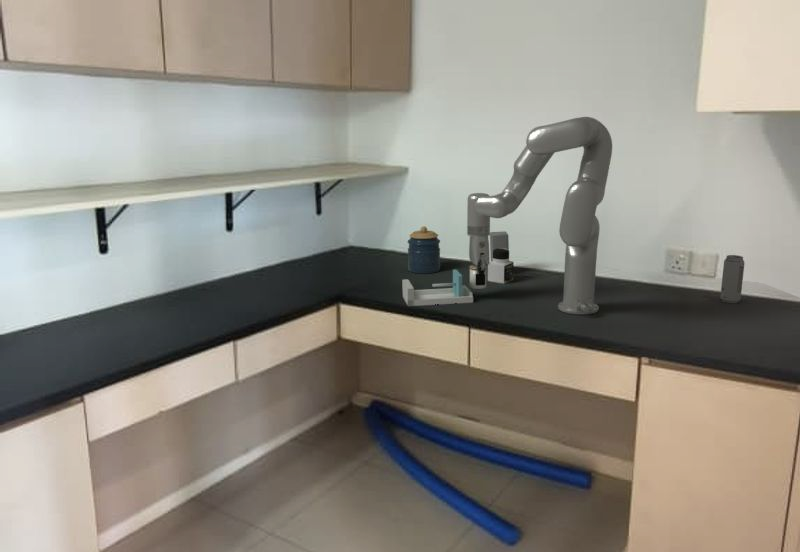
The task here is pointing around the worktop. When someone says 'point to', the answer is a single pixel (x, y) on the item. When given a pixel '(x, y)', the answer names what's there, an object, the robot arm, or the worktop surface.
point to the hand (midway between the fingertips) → (478, 282)
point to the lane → (433, 295)
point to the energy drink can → (732, 279)
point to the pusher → (454, 284)
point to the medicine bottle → (500, 267)
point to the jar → (473, 277)
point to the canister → (423, 252)
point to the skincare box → (498, 241)
